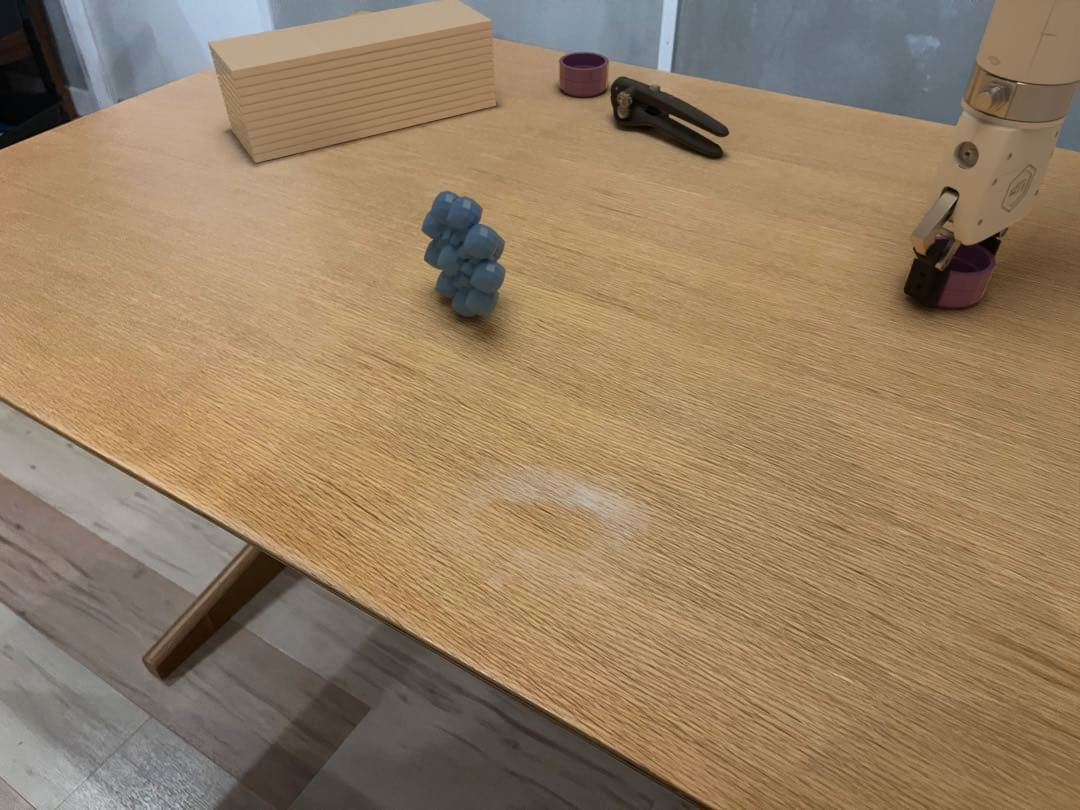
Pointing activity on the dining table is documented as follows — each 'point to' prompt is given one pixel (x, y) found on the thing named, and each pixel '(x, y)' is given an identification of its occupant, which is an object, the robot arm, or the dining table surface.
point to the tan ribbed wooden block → (354, 76)
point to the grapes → (464, 254)
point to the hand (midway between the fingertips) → (945, 283)
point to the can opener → (664, 114)
